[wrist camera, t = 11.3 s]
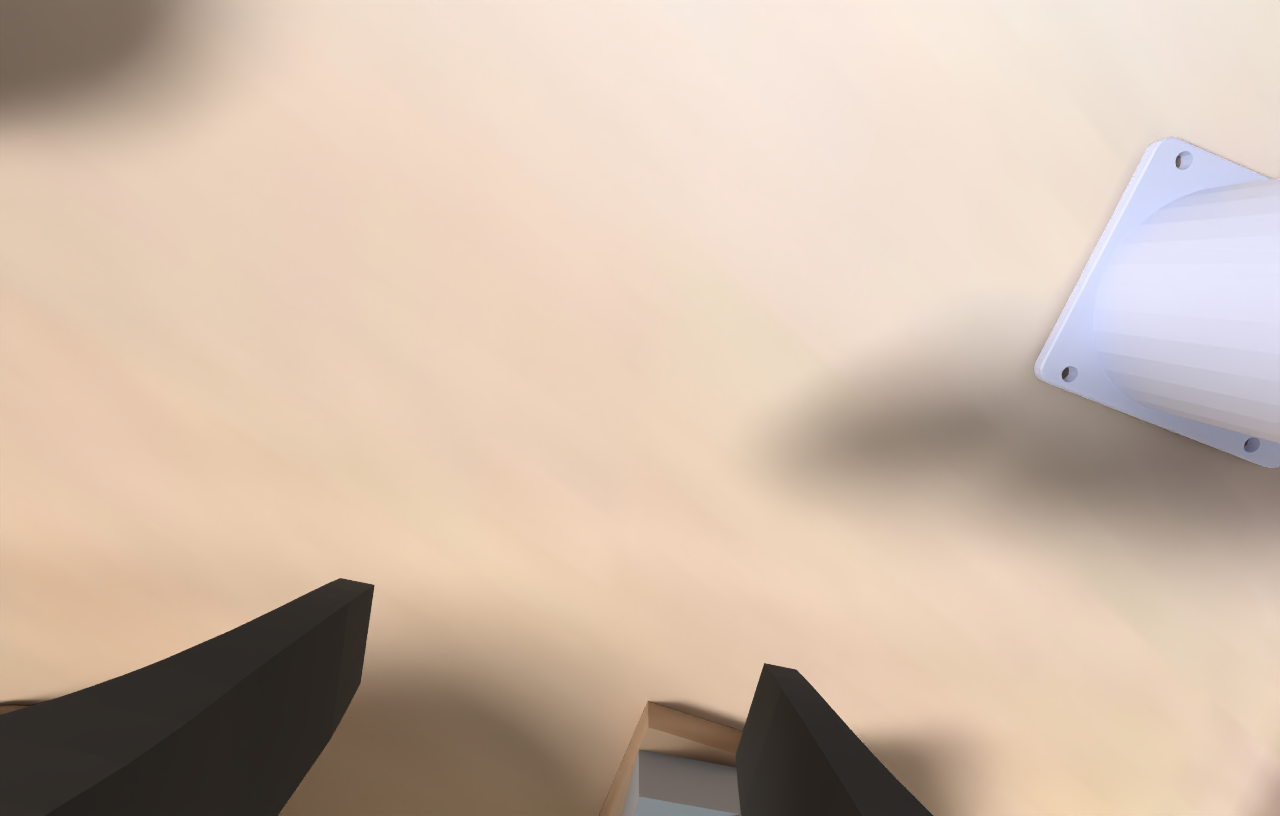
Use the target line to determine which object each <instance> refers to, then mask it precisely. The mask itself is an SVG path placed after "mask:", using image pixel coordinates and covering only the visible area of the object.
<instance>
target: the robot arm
mask: <svg viewBox="0 0 1280 816" xmlns="http://www.w3.org/2000/svg"><path fill="white" fill-rule="evenodd" d="M1178 155H1179V156H1180V157H1181V165H1180V167H1179V168H1177V167H1176V163H1175V161H1176V157H1177V156H1178ZM1067 367H1068V368H1069V374H1068V376H1067V377H1066V378H1065V379H1062V376H1061V375H1062V371H1063V370H1064V369H1065V368H1067ZM1034 374H1035V375H1036V377H1037V378H1038V379H1039V380H1041V381H1042V382H1045V383H1048V384H1050V385H1053V386H1055V387H1058V388H1061V389H1063V390H1066V391H1068V392H1071V393H1073V394H1076V395H1079V396H1081V397H1084V398H1086V399H1089V400H1092V401H1094V402H1097V403H1099V404H1102V405H1105V406H1107V407H1110V408H1112V409H1115V410H1118V411H1120V412H1123V413H1125V414H1128V415H1130V416H1133V417H1136V418H1138V419H1141V420H1143V421H1146V422H1149V423H1151V424H1154V425H1156V426H1159V427H1162V428H1164V429H1167V430H1169V431H1172V432H1175V433H1177V434H1180V435H1182V436H1185V437H1187V438H1190V439H1193V440H1195V441H1198V442H1200V443H1203V444H1206V445H1208V446H1211V447H1213V448H1216V449H1219V450H1221V451H1224V452H1226V453H1229V454H1232V455H1234V456H1237V457H1239V458H1242V459H1244V460H1247V461H1250V462H1252V463H1255V464H1257V465H1260V466H1264V467H1267V468H1277V467H1280V178H1276V179H1271V178H1269V177H1266V176H1264V175H1262V174H1259V173H1257V172H1255V171H1252V170H1250V169H1248V168H1245V167H1243V166H1241V165H1239V164H1236V163H1234V162H1232V161H1229V160H1227V159H1225V158H1222V157H1220V156H1218V155H1215V154H1213V153H1211V152H1209V151H1206V150H1204V149H1202V148H1199V147H1197V146H1195V145H1192V144H1190V143H1188V142H1185V141H1183V140H1181V139H1179V138H1175V137H1169V138H1165V139H1161V140H1157V141H1155V142H1153V143H1152V144H1151V145H1150V146H1149V147H1148V148H1147V150H1146V151H1145V153H1144V155H1143V157H1142V159H1141V161H1140V163H1139V165H1138V167H1137V169H1136V171H1135V173H1134V174H1133V176H1132V178H1131V180H1130V182H1129V184H1128V186H1127V188H1126V190H1125V192H1124V194H1123V196H1122V197H1121V199H1120V201H1119V203H1118V205H1117V207H1116V209H1115V211H1114V213H1113V215H1112V217H1111V219H1110V221H1109V222H1108V224H1107V226H1106V228H1105V230H1104V232H1103V234H1102V236H1101V238H1100V240H1099V242H1098V244H1097V246H1096V247H1095V249H1094V251H1093V253H1092V255H1091V257H1090V259H1089V261H1088V263H1087V265H1086V267H1085V269H1084V270H1083V272H1082V274H1081V276H1080V278H1079V280H1078V282H1077V284H1076V286H1075V288H1074V290H1073V292H1072V294H1071V295H1070V297H1069V299H1068V301H1067V303H1066V305H1065V307H1064V309H1063V311H1062V313H1061V315H1060V317H1059V319H1058V320H1057V322H1056V324H1055V326H1054V328H1053V330H1052V332H1051V334H1050V336H1049V338H1048V340H1047V342H1046V343H1045V345H1044V347H1043V349H1042V351H1041V353H1040V355H1039V357H1038V359H1037V361H1036V363H1035V366H1034ZM1247 440H1248V443H1247V445H1246V446H1245V447H1244V444H1245V442H1246V441H1247ZM373 592H374V585H372V584H367V583H362V582H357V581H352V580H347V579H342V578H340V579H337V580H335V581H333V582H330V583H328V584H326V585H324V586H322V587H320V588H318V589H315V590H313V591H311V592H309V593H307V594H305V595H303V596H301V597H299V598H297V599H295V600H293V601H291V602H289V603H287V604H285V605H283V606H281V607H279V608H277V609H275V610H273V611H271V612H269V613H266V614H264V615H262V616H260V617H258V618H256V619H254V620H252V621H250V622H248V623H246V624H243V625H241V626H239V627H237V628H235V629H233V630H231V631H228V632H226V633H224V634H222V635H219V636H217V637H215V638H212V639H210V640H208V641H205V642H203V643H201V644H199V645H196V646H194V647H192V648H189V649H187V650H185V651H182V652H180V653H178V654H175V655H173V656H171V657H169V658H166V659H164V660H161V661H159V662H156V663H154V664H151V665H149V666H146V667H144V668H141V669H138V670H136V671H133V672H130V673H128V674H125V675H123V676H120V677H117V678H114V679H111V680H108V681H106V682H103V683H100V684H97V685H94V686H91V687H89V688H86V689H83V690H80V691H77V692H74V693H71V694H68V695H65V696H62V697H59V698H56V699H52V700H49V701H45V702H42V703H39V704H35V705H32V706H29V707H25V708H22V709H19V710H15V711H12V712H8V713H5V714H2V715H0V816H278V814H279V813H280V811H281V810H282V808H283V807H284V806H285V804H286V803H287V801H288V800H289V798H290V797H291V796H292V794H293V793H294V791H295V790H296V788H297V787H298V786H299V784H300V783H301V781H302V780H303V778H304V777H305V775H306V774H307V772H308V771H309V770H310V768H311V767H312V765H313V764H314V762H315V761H316V759H317V758H318V757H319V755H320V754H321V752H322V751H323V749H324V748H325V746H326V745H327V743H328V742H329V740H330V739H331V737H332V735H333V733H334V732H335V730H336V728H337V726H338V724H339V723H340V721H341V719H342V717H343V715H344V714H345V712H346V710H347V708H348V706H349V704H350V702H351V700H352V698H353V696H354V694H355V693H356V691H357V689H358V687H359V685H360V682H361V675H362V668H363V661H364V654H365V647H366V640H367V634H368V627H369V620H370V613H371V606H372V599H373ZM736 768H737V780H738V792H739V801H740V811H741V816H933V815H932V814H931V813H930V812H929V811H928V810H927V809H926V808H925V807H924V806H923V805H922V804H921V803H920V802H919V801H918V800H917V799H916V798H915V797H914V796H913V795H912V794H911V793H910V792H909V791H908V790H907V789H906V788H905V787H904V786H903V785H902V784H901V783H900V782H899V781H898V780H897V779H896V778H895V777H894V776H893V775H892V774H891V773H890V772H889V771H888V770H887V768H886V767H885V766H884V765H883V764H882V763H881V762H880V761H879V760H878V759H877V758H876V757H875V756H874V755H873V754H872V752H871V751H870V750H869V749H868V748H867V747H866V746H865V745H864V744H863V743H862V742H861V740H860V739H859V738H858V737H857V736H856V735H855V734H854V733H853V732H852V730H851V729H850V728H849V727H848V726H847V725H846V724H845V723H844V721H843V720H842V719H841V718H840V717H839V716H838V715H837V714H836V712H835V711H834V710H833V709H832V708H831V707H830V706H829V704H828V703H827V702H826V701H825V700H824V699H823V698H822V697H821V695H820V694H819V693H818V692H817V691H816V690H815V689H814V688H813V687H812V685H811V684H810V683H809V682H808V681H807V680H806V679H805V678H804V677H803V676H802V675H801V674H800V673H799V672H798V671H797V670H795V669H790V668H785V667H780V666H775V665H770V664H765V663H764V666H763V669H762V672H761V676H760V679H759V682H758V685H757V688H756V691H755V695H754V698H753V701H752V704H751V707H750V711H749V714H748V717H747V720H746V723H745V727H744V730H743V733H742V736H741V739H740V742H739V746H738V749H737V752H736Z"/></svg>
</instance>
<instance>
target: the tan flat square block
mask: <svg viewBox="0 0 1280 816" xmlns="http://www.w3.org/2000/svg"><path fill="white" fill-rule="evenodd" d="M742 733H743V731H740V730H737V729H734V728H730V727H727V726H724V725H721V724H718V723H715V722H711V721H708V720H705V719H702V718H699V717H696V716H692V715H689V714H686V713H683V712H680V711H677V710H673V709H670V708H667V707H664V706H661V705H658V704H654V703H651V702H647V704H646V707H645V709H644V711H643V714H642V716H641V718H640V721H639V723H638V725H637V728H636V730H635V732H634V735H633V737H632V739H631V742H630V744H629V746H628V749H627V751H626V753H625V756H624V758H623V760H622V763H621V765H620V767H619V770H618V772H617V774H616V777H615V779H614V781H613V784H612V786H611V788H610V791H609V793H608V795H607V797H606V800H605V802H604V804H603V807H602V809H601V811H600V814H599V816H621V815H622V812H623V808H624V804H625V800H626V796H627V792H628V789H629V785H630V781H631V777H632V773H633V769H634V766H635V762H636V758H637V754H638V750H643V751H648V752H654V753H659V754H665V755H670V756H676V757H681V758H687V759H692V760H698V761H703V762H709V763H714V764H720V765H725V766H731V767H736V752H737V749H738V746H739V742H740V739H741V736H742Z"/></svg>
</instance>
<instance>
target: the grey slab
mask: <svg viewBox="0 0 1280 816" xmlns="http://www.w3.org/2000/svg"><path fill="white" fill-rule="evenodd" d="M740 815H741V811H740V801H739V792H738V780H737V768H736V767H731V766H725V765H720V764H714V763H709V762H703V761H698V760H692V759H687V758H681V757H676V756H670V755H665V754H659V753H654V752H648V751H643V750H638V754H637V758H636V762H635V766H634V769H633V773H632V777H631V781H630V785H629V789H628V792H627V796H626V800H625V804H624V808H623V812H622V815H621V816H740Z"/></svg>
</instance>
